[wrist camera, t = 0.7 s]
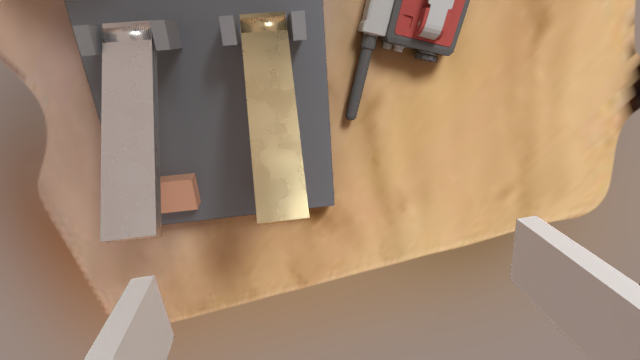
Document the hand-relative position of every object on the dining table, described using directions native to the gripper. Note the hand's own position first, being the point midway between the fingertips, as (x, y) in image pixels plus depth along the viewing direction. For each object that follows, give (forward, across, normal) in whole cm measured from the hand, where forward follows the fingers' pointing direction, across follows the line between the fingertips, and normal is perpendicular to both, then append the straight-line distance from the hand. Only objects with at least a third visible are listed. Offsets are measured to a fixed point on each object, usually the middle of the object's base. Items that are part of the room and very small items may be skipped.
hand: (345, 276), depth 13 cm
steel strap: (+17, -12, +3) cm, 21 cm away
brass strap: (+17, -2, +3) cm, 17 cm away
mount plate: (+24, -7, +2) cm, 26 cm away
